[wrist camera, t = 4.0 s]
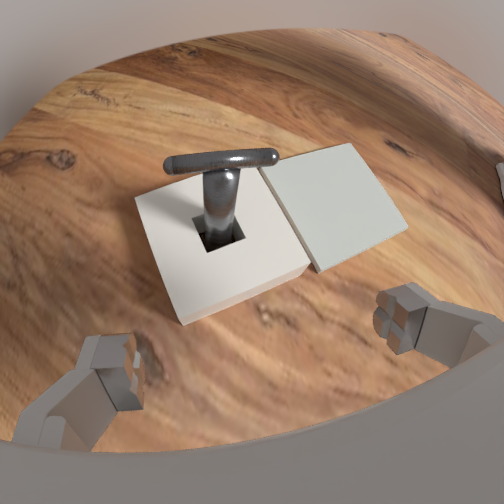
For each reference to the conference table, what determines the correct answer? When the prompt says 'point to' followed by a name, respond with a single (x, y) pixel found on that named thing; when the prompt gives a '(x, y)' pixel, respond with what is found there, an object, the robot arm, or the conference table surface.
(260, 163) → the chuck key
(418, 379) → the conference table surface
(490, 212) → the conference table surface
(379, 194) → the rubber mat
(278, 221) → the white square-hole block
